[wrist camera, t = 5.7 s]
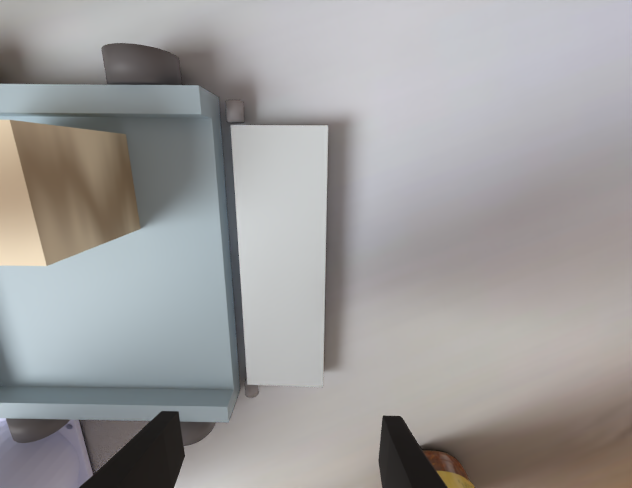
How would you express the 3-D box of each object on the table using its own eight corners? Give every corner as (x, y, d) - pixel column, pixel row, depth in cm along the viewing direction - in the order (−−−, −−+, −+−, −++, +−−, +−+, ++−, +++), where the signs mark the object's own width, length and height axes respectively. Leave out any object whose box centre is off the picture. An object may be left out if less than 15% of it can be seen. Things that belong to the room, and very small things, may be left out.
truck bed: (261, 406, 22) (251, 447, 19) (15, 402, 22) (-34, 441, 19) (244, 66, 16) (225, 43, 13) (-96, 63, 16) (-196, 41, 13)
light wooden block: (140, 228, 17) (46, 266, 11) (52, 227, 17) (-88, 264, 11) (125, 134, 15) (9, 119, 10) (29, 133, 15) (-144, 118, 10)
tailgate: (252, 369, 21) (323, 371, 21) (247, 384, 20) (323, 387, 20) (239, 127, 17) (328, 128, 17) (230, 124, 15) (328, 125, 15)
